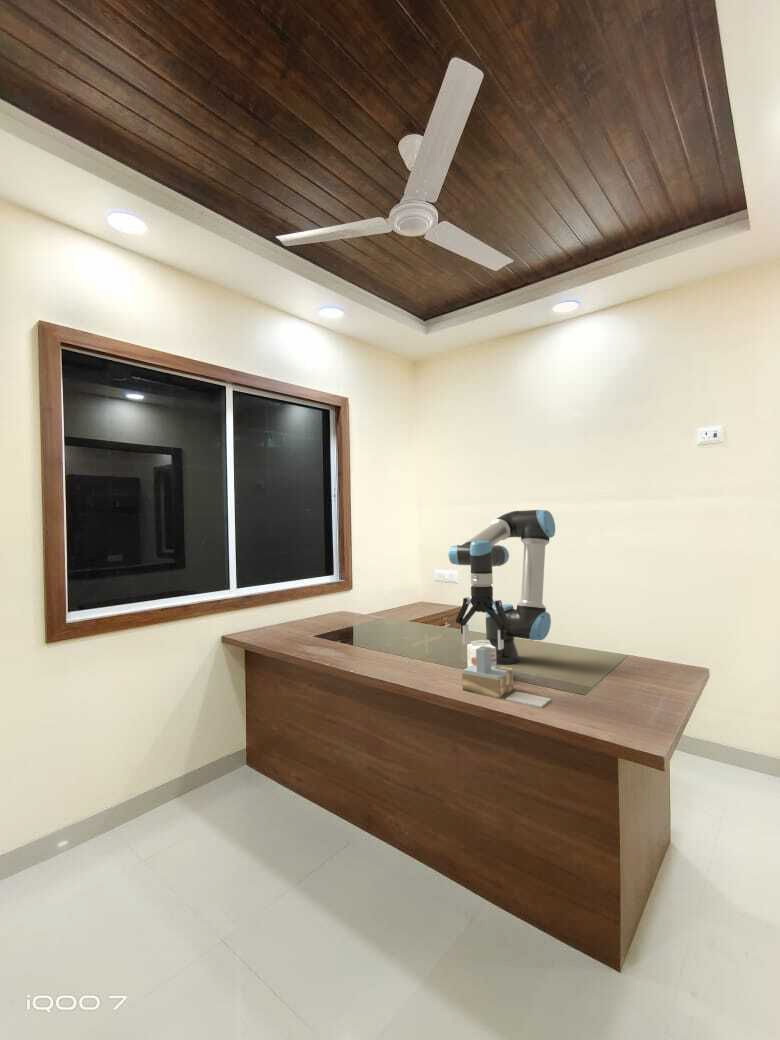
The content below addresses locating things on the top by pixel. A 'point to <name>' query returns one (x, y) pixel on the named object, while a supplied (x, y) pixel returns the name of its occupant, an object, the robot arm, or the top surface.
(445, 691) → the top surface
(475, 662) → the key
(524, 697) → the mat
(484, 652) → the lid
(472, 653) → the ink box
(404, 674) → the top surface
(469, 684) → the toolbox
